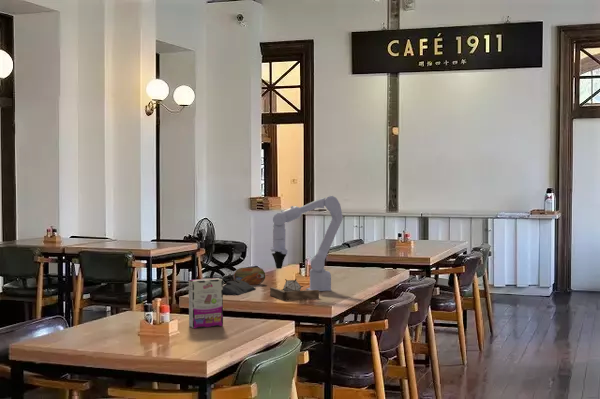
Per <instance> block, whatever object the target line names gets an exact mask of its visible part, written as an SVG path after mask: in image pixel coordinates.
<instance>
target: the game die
mask: <svg viewBox="0 0 600 399" xmlns="http://www.w3.org/2000/svg"><path fill="white" fill-rule="evenodd" d="M284 280H285V283H284V286H283V289H281V290H283V291H285V292H287V291H301V289H302V288H304V285H301V284H300V283H299V282H298V280H297V278H295V279H292V280H291V279H290V280H287V279H286V278H285V279H284Z"/></svg>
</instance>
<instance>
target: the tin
mask: <svg viewBox="0 0 600 399" xmlns="http://www.w3.org/2000/svg"><path fill="white" fill-rule="evenodd" d="M233 278H234V280H236V279H239V280H241V281H244V282H247V283H248V284H249V285H250V286H255V285H261V284H262V283H264V282H265V279H266V272H265V270H264V269H263V268H261V267H257V266H256V267H255V266H253V267H252V266H251V267H239V268H238V269H236V270H235V272H234V274H233Z"/></svg>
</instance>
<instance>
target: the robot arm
mask: <svg viewBox="0 0 600 399" xmlns="http://www.w3.org/2000/svg"><path fill="white" fill-rule="evenodd" d="M315 209H327V211H329V214H330V216H331V221H330V222H329V225H328V227H327V229H326V231H325V234H324V236H323V239H322V241H321V243H320V246H319V247H318V249H317V252H316V254H315V255H314V256H312V258H311V260H310V267H311V269H310V270H309V287H308V288H307V287H306V288H305V289H306V290H319V292H329V291H330V292H332V274H331V272H330V271H329V270H326V269H325V261H326V258H327V256H328V253H329V251H330V249H331V246H332V244H333V241H334V240H335V237H336V235H337V232H338V231H339V228H340V226H341V223H342V221H343V218H344V217H343V212H342V211H343V210H342V207H341V203H340V201H339V200H338V198H337V197H336V196H334V195H329V196H327V197H322V198H319V199H316V200H313V201H311V202H308V203H306V204H305V205H302V206H297V205H295V206H294V205H291V206H290V208H287V209H285V210H283V209H282V210H281V212H277V213H276V214H274V215H273V217H272V222H273V225H272V227H273V228H272V247H270V251H271V252H274V253H271V256H272V257H273V260H274V263H275V268H276V269H282V267H283V265H284V261H285V258H286V257H287V255H288V249H286V223H290V222H293V221H295V220H297V219H300V218H301V217H302V214H304V213H307V212H310V211H312V210H315Z"/></svg>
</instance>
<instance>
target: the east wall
mask: <svg viewBox="0 0 600 399" xmlns="http://www.w3.org/2000/svg"><path fill="white" fill-rule="evenodd" d="M269 292H270V293H269V296H270V295H271V297H273V298H276V299H278V298H279V300H281V301H288V300H287V299H285V298H287V296H286V294H287V292H286V294H284V296H286V297H284V296H283V292H285V291H283V290H282V289H279V288H276V287H270V288H269ZM283 298H284V299H285V300H283Z"/></svg>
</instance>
